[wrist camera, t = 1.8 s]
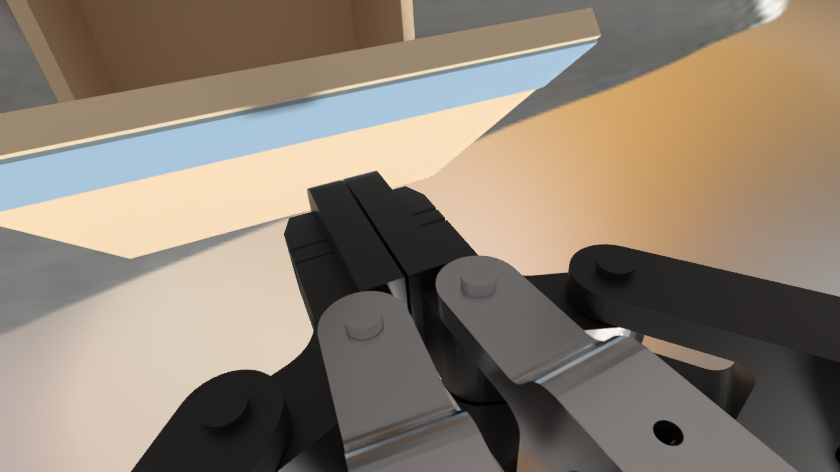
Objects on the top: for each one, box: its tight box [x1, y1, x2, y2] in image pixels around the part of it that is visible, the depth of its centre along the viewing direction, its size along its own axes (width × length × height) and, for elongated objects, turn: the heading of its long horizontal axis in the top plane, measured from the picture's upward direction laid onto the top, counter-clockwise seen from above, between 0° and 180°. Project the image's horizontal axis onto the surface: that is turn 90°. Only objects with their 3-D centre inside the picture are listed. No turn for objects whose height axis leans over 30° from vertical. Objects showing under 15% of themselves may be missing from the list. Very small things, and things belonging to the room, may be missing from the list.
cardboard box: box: [6, 0, 415, 103], centre depth 26 cm, size 16×16×10 cm
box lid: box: [0, 8, 601, 259], centre depth 19 cm, size 16×16×1 cm
